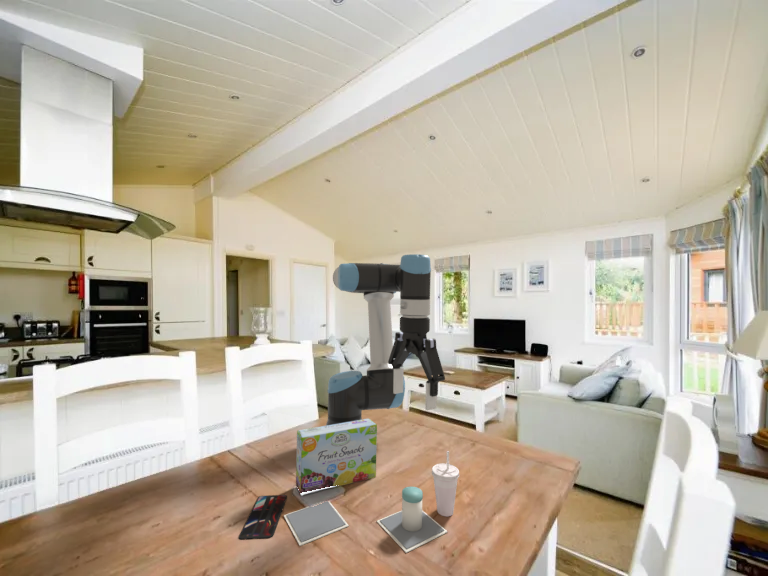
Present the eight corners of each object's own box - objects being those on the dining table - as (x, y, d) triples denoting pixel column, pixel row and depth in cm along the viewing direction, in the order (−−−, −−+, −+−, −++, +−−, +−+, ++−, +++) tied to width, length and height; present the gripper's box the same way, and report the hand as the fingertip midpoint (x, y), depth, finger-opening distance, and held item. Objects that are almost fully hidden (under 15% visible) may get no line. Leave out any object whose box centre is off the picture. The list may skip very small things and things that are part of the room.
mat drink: (376, 521, 76) (376, 519, 76) (415, 505, 82) (415, 503, 82) (406, 553, 67) (406, 551, 67) (447, 532, 73) (447, 530, 73)
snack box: (300, 498, 85) (301, 437, 85) (295, 487, 90) (296, 429, 90) (377, 477, 95) (377, 423, 95) (368, 468, 100) (368, 416, 100)
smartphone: (237, 538, 70) (258, 495, 85) (237, 542, 70) (258, 498, 85) (272, 537, 71) (287, 494, 86) (272, 540, 71) (287, 497, 86)
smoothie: (459, 522, 76) (459, 459, 76) (430, 518, 77) (430, 456, 78) (459, 504, 82) (459, 446, 83) (432, 501, 84) (432, 444, 84)
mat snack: (283, 516, 78) (283, 514, 78) (328, 500, 84) (328, 499, 84) (299, 546, 69) (299, 544, 69) (348, 526, 75) (348, 524, 75)
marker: (397, 522, 75) (398, 490, 75) (413, 515, 78) (414, 484, 78) (409, 534, 71) (410, 500, 72) (426, 526, 74) (426, 494, 74)
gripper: (376, 312, 94) (375, 389, 94) (436, 322, 73) (434, 420, 73) (399, 311, 98) (397, 385, 98) (461, 320, 77) (459, 413, 77)
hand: (413, 400), depth 86 cm, fingers open, 13 cm apart
